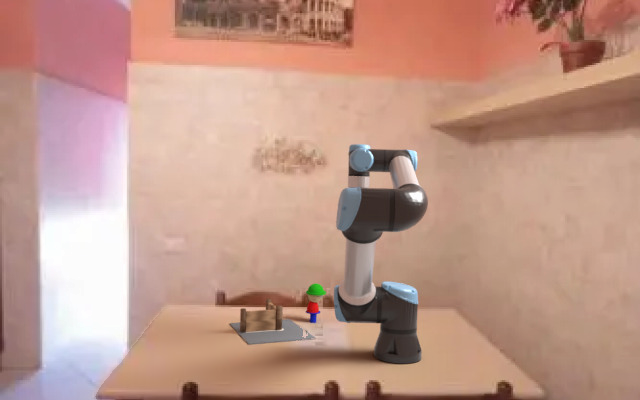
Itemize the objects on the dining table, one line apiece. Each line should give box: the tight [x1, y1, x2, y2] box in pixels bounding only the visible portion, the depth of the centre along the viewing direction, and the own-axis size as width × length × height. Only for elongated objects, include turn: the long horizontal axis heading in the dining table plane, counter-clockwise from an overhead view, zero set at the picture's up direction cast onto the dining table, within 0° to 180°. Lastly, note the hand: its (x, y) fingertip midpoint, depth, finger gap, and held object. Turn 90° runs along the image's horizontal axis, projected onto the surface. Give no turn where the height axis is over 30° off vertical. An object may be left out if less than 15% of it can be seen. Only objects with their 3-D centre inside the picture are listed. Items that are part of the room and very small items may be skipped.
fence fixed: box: [265, 298, 284, 330], centre depth 216 cm, size 16×2×9 cm, turn 22°
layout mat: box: [229, 318, 316, 346], centre depth 209 cm, size 28×24×1 cm
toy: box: [305, 283, 327, 324], centre depth 225 cm, size 8×8×15 cm
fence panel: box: [239, 307, 276, 332], centre depth 207 cm, size 13×2×8 cm, turn 112°
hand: (356, 256), depth 200 cm, fingers closed
